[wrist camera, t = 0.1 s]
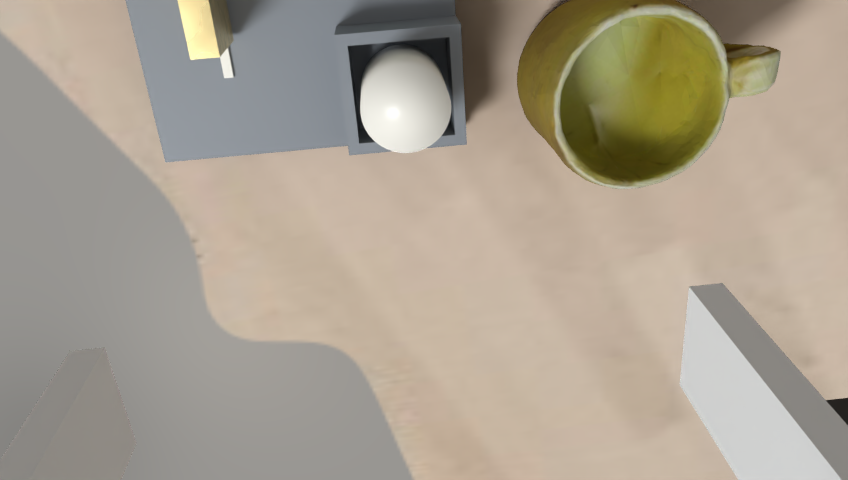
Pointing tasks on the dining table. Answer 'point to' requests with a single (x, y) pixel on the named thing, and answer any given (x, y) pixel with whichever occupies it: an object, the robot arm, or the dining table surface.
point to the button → (404, 99)
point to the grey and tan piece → (206, 27)
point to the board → (286, 73)
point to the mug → (633, 87)
